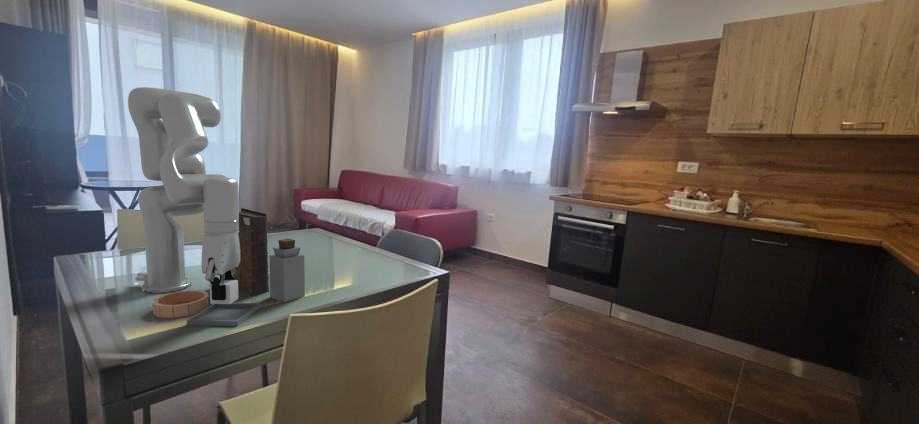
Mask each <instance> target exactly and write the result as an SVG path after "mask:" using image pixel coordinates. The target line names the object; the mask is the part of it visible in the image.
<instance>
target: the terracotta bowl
mask: <svg viewBox="0 0 919 424" xmlns="http://www.w3.org/2000/svg"><path fill="white" fill-rule="evenodd" d="M209 300H210V297H209V292H207V291H204V290H195V289H193V290H192V289H189V290H181V291H180V290H178V291H172V292H168V293H166V294H163V295H160V296H157V297H156V298H154V299H153V301H152V314H153V315H154V316H156V317H158V318H164V319H175V318H182V317H189V316H192V315H196V314H198V313H199V312H201V311H202V310H204V309H205V308H207V307H209V306H210V301H209Z"/></svg>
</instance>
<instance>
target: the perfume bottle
mask: <svg viewBox="0 0 919 424" xmlns="http://www.w3.org/2000/svg"><path fill="white" fill-rule="evenodd" d="M295 244H296V240H295V239H292V238H284V239H278V246H276V247H275V246H274V247H272V249H273V252H274V254H270V255H269V254H268V255H269V256H268V260H269V293H270V294H269V295H270V296H269V297H270V298H271V299H274V300H276V301H278V302H282V303H288V302H291V301H293V300H296V299H300V298H303V297H305V291H306V290H305V288H306V287H305V282H306V280H305V277H306V276H305V274H306V273H305V254H302V253H300V251H301V246H296V245H295Z"/></svg>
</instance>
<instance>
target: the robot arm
mask: <svg viewBox="0 0 919 424" xmlns="http://www.w3.org/2000/svg"><path fill="white" fill-rule="evenodd" d="M127 107H128V111H129V115H130V117H131V120H132V122H133V124H134V127H135V129H136V131H137V135H138V143H139V154H140V163H141V170H142V173H143V174H142V175H143V176H144V178H145V179H147V180H149V181H154V182H162V185H153V186H149V187H145V188H143V189H142V190H140V192H139V194H138V197H137V202H138V207H139V209H140V213H141V218H142V223H143V232H144V244H145V260H146V272H138V273H137V275H136V276H135V281H139V282H142V281H143V284H142V285H141V291H142V290H144V291H147V292H146V293H148V292H152V293H151V294H160V293H161V294H162V293H163V292H164V293H172V292H177V291H180V290H183V289H185V288H188V287H191V285H192V283H193V282H192V279H191V278H189V277H186V265H185V263H186V261H185V245H184V230H183V228H182V227H181V225H180V224H178V222H177V221H175V219H174V217H181V216H184V217H185V216H192V215H201V214H203V224H204V225H203V227H204V230H203V231H204V235H203V238H202V239H203V240H202V247H201V272H202V274H203V275H204V274H205V276H204V280H206V281H208V282H209V285H211V287H212V300H225V299H226V285H224V280H235V279H234V278H236V270H237V267H238V265H239V263H240V242H239V234H238V233H239V212H240V199H239V198H240V197H239V183H238V180H236V179H235V178H233V177H227V176H226V175H223V174H218V173H217V174H213V173H212V174H211V173H210V174H206V173H207V171H206V164H205V160H204V158H203V157H202V156H201V155H200V153H201V152H203V151H204V150H205V149H206V148H207V147H208V146H209V138H208V136H207V133H206V130H205V129H204V128H215V127H217V126H218V125H219V124H220V122H221V118H222V116H221V115H222V114H221V110H220V107H219V105H218V103H217V102H216V101H215V100H214V99H212V98H210V97H206V96H203V95H200V94H197V93H192V92H191V93H190V92H185V91H179V90H178V91H177V90H171V89H165V88H157V87H148V86H146V87H144V86H143V87H142V86H141V87H135V88H133V89H131V90H130V91H129V93H128V97H127ZM216 271H217V272H216ZM218 276H219V277H218ZM144 291H143V292H144ZM164 293H163V294H164Z"/></svg>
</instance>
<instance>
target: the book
mask: <svg viewBox="0 0 919 424" xmlns="http://www.w3.org/2000/svg"><path fill="white" fill-rule="evenodd" d="M238 234H239V242H240V263H239V265H238V267H237V270H236V278H234V279H235V280H238V291H241V290H242V291H244V292H245V293H247V294H250V295H261V294H266V293H270V282H269V280H270V275H269V267H270V264H269V256H268V255H269V252H268V242H269V241H268V216H267V213H263V212H261V211H260V212H259V211H256V210H250V209H249V208H243V207H241V208H240V211H239V233H238Z"/></svg>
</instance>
